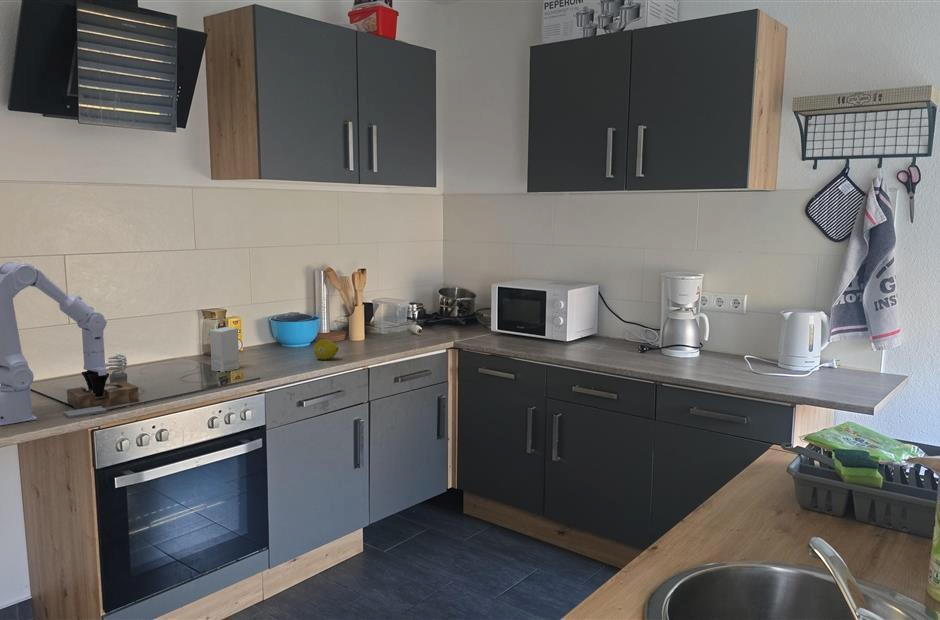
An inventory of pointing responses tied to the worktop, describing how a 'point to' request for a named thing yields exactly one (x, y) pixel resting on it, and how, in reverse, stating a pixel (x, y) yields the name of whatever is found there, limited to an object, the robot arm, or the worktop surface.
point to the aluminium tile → (104, 391)
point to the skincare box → (224, 349)
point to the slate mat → (84, 412)
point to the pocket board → (113, 397)
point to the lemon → (325, 349)
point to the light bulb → (118, 368)
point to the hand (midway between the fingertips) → (96, 395)
